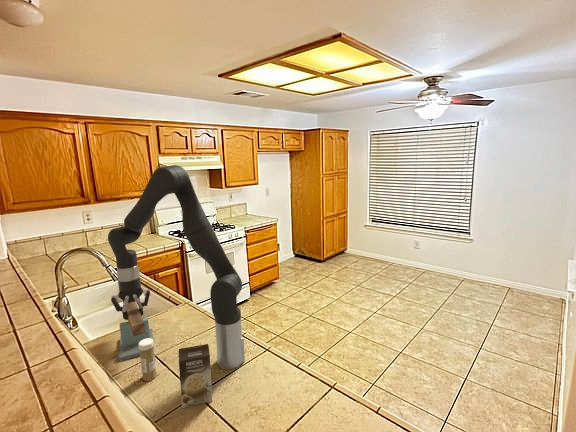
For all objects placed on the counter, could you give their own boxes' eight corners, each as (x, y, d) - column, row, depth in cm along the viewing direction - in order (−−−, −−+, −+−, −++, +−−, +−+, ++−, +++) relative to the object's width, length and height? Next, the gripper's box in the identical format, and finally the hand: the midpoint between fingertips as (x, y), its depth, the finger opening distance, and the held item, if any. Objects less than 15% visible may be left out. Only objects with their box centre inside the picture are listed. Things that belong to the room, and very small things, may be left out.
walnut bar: (134, 305, 130) (133, 297, 129) (145, 332, 109) (144, 322, 108) (123, 308, 128) (122, 299, 127) (133, 336, 107) (132, 326, 106)
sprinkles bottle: (158, 378, 102) (154, 342, 99) (143, 383, 99) (139, 347, 97) (155, 370, 106) (151, 336, 103) (141, 375, 103) (137, 340, 101)
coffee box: (181, 409, 89) (177, 361, 86) (181, 394, 95) (177, 348, 92) (213, 401, 92) (209, 354, 89) (211, 386, 98) (208, 342, 95)
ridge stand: (152, 331, 130) (149, 309, 128) (154, 352, 116) (151, 327, 114) (121, 338, 125) (118, 315, 123) (118, 361, 110) (115, 335, 108)
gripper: (106, 284, 108) (112, 327, 111) (149, 276, 114) (153, 317, 118) (108, 277, 115) (113, 317, 118) (148, 270, 121) (153, 309, 124)
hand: (133, 317), depth 118 cm, fingers closed on walnut bar, 4 cm apart
